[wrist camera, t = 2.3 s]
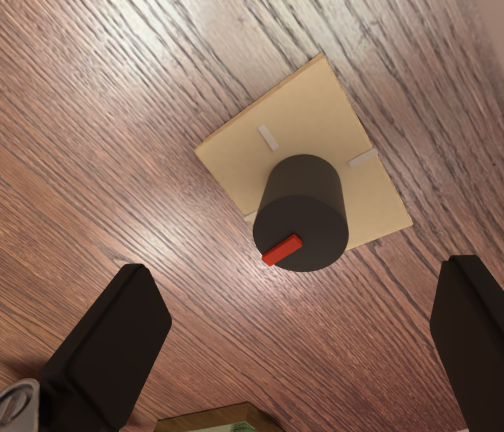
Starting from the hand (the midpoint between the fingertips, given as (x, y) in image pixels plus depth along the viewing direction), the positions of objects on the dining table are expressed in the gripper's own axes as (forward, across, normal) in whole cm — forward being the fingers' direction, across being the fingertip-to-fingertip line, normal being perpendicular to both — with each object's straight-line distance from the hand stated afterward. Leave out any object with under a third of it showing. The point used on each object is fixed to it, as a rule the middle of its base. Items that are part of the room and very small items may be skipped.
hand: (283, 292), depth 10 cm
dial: (+8, 0, 0) cm, 8 cm away
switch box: (+11, +14, +38) cm, 43 cm away
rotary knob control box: (+11, 0, 0) cm, 11 cm away
